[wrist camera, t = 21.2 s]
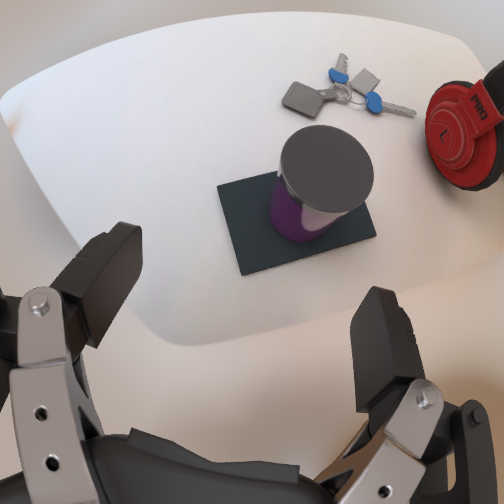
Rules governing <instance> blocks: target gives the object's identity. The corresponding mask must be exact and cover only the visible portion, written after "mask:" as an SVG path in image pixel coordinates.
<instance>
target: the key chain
mask: <svg viewBox="0 0 504 504" xmlns="http://www.w3.org/2000/svg"><path fill="white" fill-rule="evenodd" d="M346 59H348V58H347V56H346V55H344V54H341V53H340V54H339V59H338V63H337V67H336V68H331V69H330V70H329V76H330V77H331V79H332V80H334V81H335V84H332V85H331V86H330V88H329V89H326V90H318V91H317V90H315V89H313V88H311V87H308V86H306V85H304V84H301V83H299V82H293V83H292V85H291V87H290V88H289V90H288V91H287V93H286V94H285V96H284V98H283V99H282V104H283V105H286V106H288V107H291V108H293V109H295V110H297V111H300V112H302V113H304V114H306V115H309V116H311V117H315V116H316V114H317V112H318V110H319V108H320V106H321V104H322V103H323V101H326V100H334V99H336V100H338V101H342V102H345V101H349V102H352V101H350V99H351V98H352V93H351V91H350V89H349V88H354V89H356V90H357V91H359V92H360V93H361V94H363V95H365V103H362V104H366V105H367V107H368V108H369V109H370V110H371V111H372V112H374V113H379V112H381V111H382V109H383V107H384V108H388V109H394V110H396V111H400V112H406V113H410V114H415V115H416V111H414V110H411V109H408V108H406V107H403V106H402V107H401V106H397V105H395V104H389V103H385V102H382V99H381V97H380V96H379V95H378V94H377V93H375V92H373V91H371V90H372V89H373V88H374V86H375V85H376V84H377V83H378V82H379V81H380V80H379V79H377V78H376V77H375V76H374V75H373V74H371V73H370V72H369V71H368V70H366V69H365V68H364V69H363V70H362V71H361V72H360V73H359V74H358V75H357V76H356V77H355V78H354V79H353V80H352V81H351V82H350V84H351V85H352V86H353V87H347V86H345V85H343V83H346V82H347V81H348V79H349V78H348V75H347V74H346V73H345V72H346V70H345V69H346V67H347V62H346ZM345 63H346V64H345ZM344 67H345V68H344ZM340 83H341V84H340ZM336 86H337V87H339V88H340V89H342V95H343V97H344V98H345V99H343V98H339V97H338V95H337V94H336V92H335V90H334V89H333V88H334V87H336ZM345 89H346V90H347V91H348V93H349V95H348V97H347V98H346V97H345V96H344V94H343V90H345ZM366 99H367V100H366ZM367 102H368V103H367ZM352 103H354V102H352ZM354 104H358V105H362V104H359V103H354Z"/></svg>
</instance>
